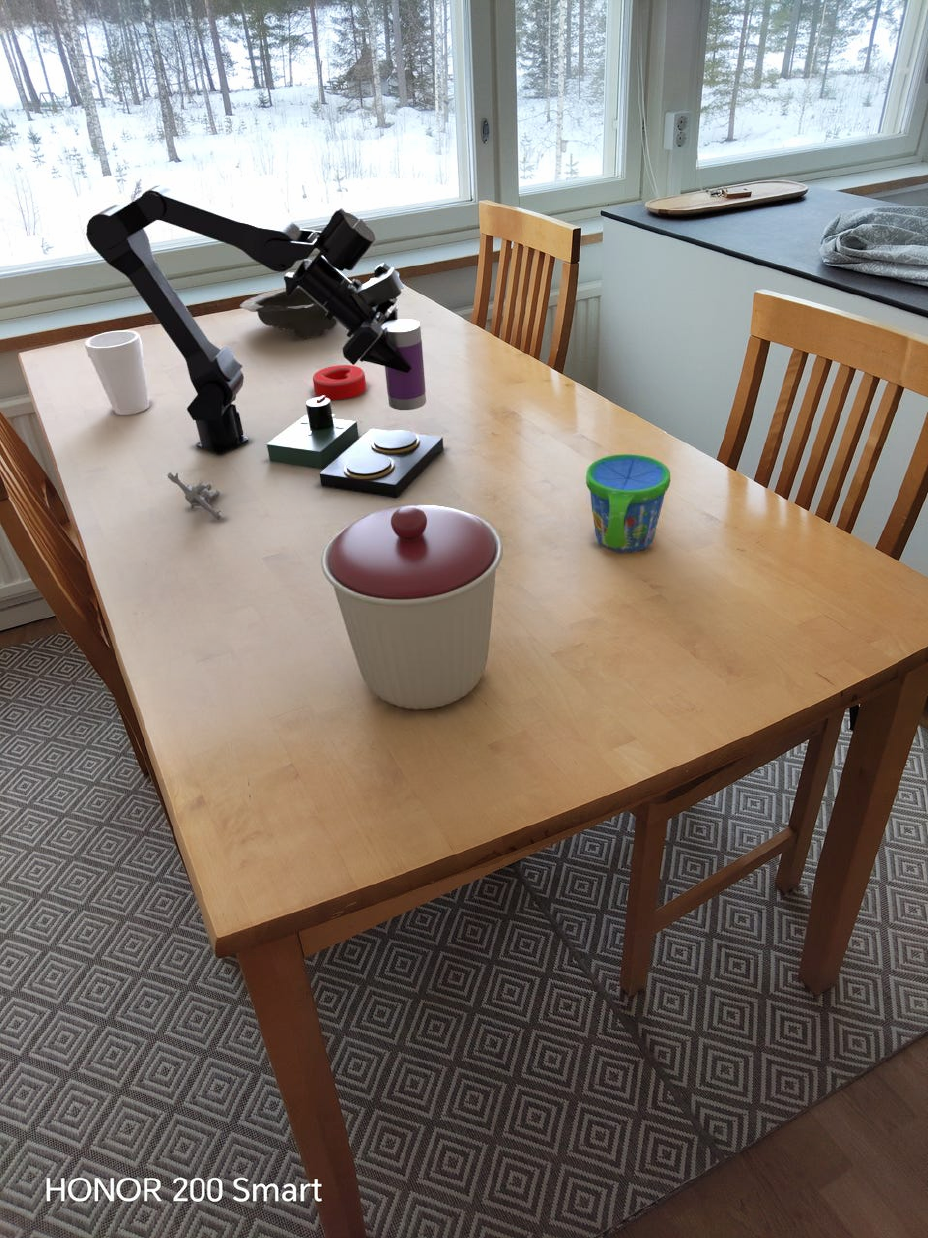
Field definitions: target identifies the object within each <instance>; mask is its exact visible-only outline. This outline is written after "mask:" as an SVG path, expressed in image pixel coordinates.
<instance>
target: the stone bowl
mask: <svg viewBox="0 0 928 1238" xmlns="http://www.w3.org/2000/svg"><path fill="white" fill-rule="evenodd" d="M323 306H324V305H323ZM239 307H240V308H242V309H243V310H247V311H249V312H250V313H255V312H256V313H257V316H258V319H259V321H261V322H262V324H264V325H266V326H269V327H274V328H277V327H279V328H280V329H282V330H289V331H293V333H294V336H295V337H296V338H297V339H300V340H303V339H307V338H313V337H316V336H317V335H321V334H324V333H325V332H326V331H328V330H332V329H334V328H335V326H336V325H337V324H338V321H337V320H336V319H334V318H332V319H331V320H329V319H327V318H326V317H325V315H326V314H327V311H325V310H324V309H323V308H322V307H321V306H320V305H319V304H317V303H316V302H315V301H314V300H313V299H312V298H311V297H310V296H308V295H307V294H306V293H305V292H304V291H303V290H302V289H301V288H299V287H297V288H296V289H295V291H294V292H293V293H292V294H291V295H290V296H287V295H286V287H282V288H280V289H276V290H271V291H268V292H263V293H259V294H258V295H256V296H252V297H250V298H246V299H245V300H244V301H243V302H242V303H240V304H239Z"/></svg>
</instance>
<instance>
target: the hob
mask: <svg viewBox="0 0 928 1238" xmlns="http://www.w3.org/2000/svg"><path fill="white" fill-rule="evenodd" d="M444 449H445V448H444V439H443V437H442V436H435V435H433V436H432V435H426V434H417V433H414V432H412V431H409V430H404V429H394V430H393V429H392V430H387V429H380V428H379V429H378V428H370V429H369V430H368V431H366V432H365V433H364V434H363V435H362V436H361V437H359V438H358V439H357V440H356V441H355V442H353V443H352V444H351V445H350V446H349V447H348V448H347V449H345V450H344V451H343V452H342V453H341V454H340V455H338V456H337V457H336V458H335V459H334V460H333V461H331V462H330V463H329V464H328V465H327V466H326V467H325V468H323V469H322V471H320V472H319V475H318V476H319V481H320V486H321V487H325V488H331V489H338V490H342V491H350V492H357V493H363V494H369V495H376V496H382V497H387V498H389V497H390V498H395V499H397V498H398V497H400V495H401V494H402V493H404V492H405V491H406V490H407V488H408V487H409V486H410V485H411V484H412V483H414V481H415V480H416V479H417V478H418V477H419V476H420V475H421V474H423V472H424V471H425V470H426V469H427V468H428V466H429V465H431V464H432V462H433V461H435V459H436V458H438V456H439V455H440V454H441V453H442V452H443V451H444Z"/></svg>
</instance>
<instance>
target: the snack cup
mask: <svg viewBox="0 0 928 1238" xmlns="http://www.w3.org/2000/svg"><path fill="white" fill-rule="evenodd" d="M670 483H671V471H670V470H669V468H668V466H667V465H666V464H664V463H663V462H662V461H660V460H658V459H656V458H653V457H650V456H647V455H641V454H632V453H622V454H621V453H619V454H612V455H608V456H605V457H601V458H599V459H597V460H595V461H594V462H592V463H591V464H590V465H589V466H588V468H587V469H586V474H585V485H586V487H587V489H588V490H589V493H590V495H589V496H590V504H591V513H592V518H593V526H594V535H595V537H596V540H597V544H598V546H603V547H604V548H606V549H607V550H610V551H612V552H616V553H618V554H623V553H636V552H639V551H642V550H646V549H648V548H649V547H650V545H651V544H652V542H653V540H654V538H655V534H656V531H657V526H658V523H659V519H660V515H661V512H662V508H663V504H664V500H665V494H666V492H667V491H668V489H669V488H670Z"/></svg>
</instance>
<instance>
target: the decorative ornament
mask: <svg viewBox="0 0 928 1238" xmlns="http://www.w3.org/2000/svg"><path fill="white" fill-rule="evenodd" d="M366 381H367V380H366V374H365V370H364V369H363V368H361V367H359V366H356V365H353V364H339V365H332V366H331V365H330V366H328V367H324V368H321V369H320V370H317V371H316V372H315V373H314V374H313V376H312V383H313V388H314V394H315V396H317V397H321V396H325V398H328V399H330V401H339V400H346V399H347V400H348V399H351V398H352V399H353V398H355V397H357V396H360V395H362V394H363V393H365V391H366V390H367V382H366Z"/></svg>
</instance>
